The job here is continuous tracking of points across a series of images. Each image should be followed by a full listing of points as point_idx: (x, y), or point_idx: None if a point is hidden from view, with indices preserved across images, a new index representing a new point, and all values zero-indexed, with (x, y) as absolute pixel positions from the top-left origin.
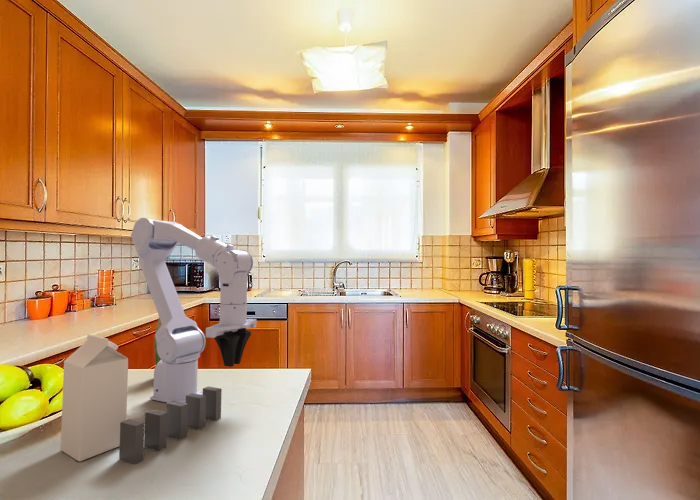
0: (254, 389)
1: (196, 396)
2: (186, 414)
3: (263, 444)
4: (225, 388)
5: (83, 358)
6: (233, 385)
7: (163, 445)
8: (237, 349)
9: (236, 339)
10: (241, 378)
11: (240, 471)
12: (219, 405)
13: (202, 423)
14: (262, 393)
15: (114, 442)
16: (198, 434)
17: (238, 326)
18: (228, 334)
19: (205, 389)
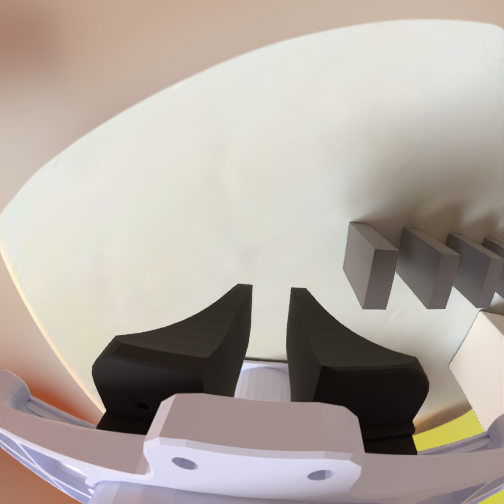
0: (128, 264)
1: (450, 275)
2: (478, 248)
3: (424, 49)
4: None
5: None
6: (136, 331)
7: (492, 240)
8: (235, 340)
9: (357, 358)
10: (94, 336)
11: (496, 63)
12: (366, 232)
13: (415, 231)
14: (140, 223)
15: (494, 317)
16: (437, 214)
17: (375, 477)
18: (372, 443)
19: (388, 297)
